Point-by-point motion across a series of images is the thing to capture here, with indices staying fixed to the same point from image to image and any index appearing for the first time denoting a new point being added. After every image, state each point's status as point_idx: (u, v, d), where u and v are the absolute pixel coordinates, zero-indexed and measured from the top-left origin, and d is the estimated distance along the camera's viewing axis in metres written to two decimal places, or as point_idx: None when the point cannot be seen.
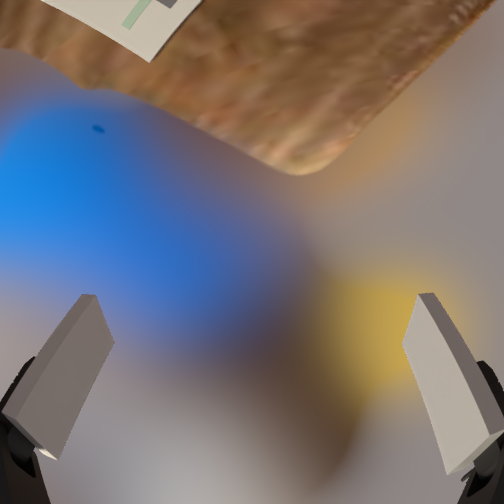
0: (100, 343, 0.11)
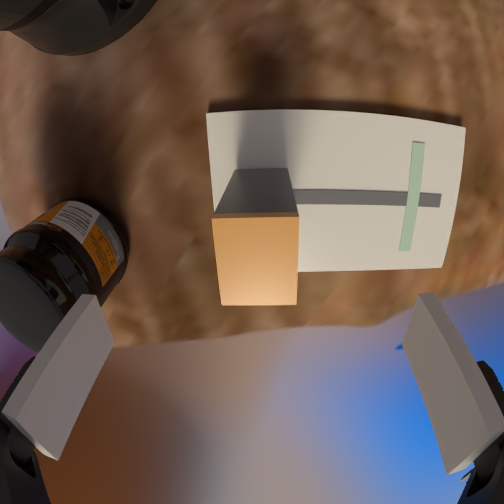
0: (100, 343, 0.11)
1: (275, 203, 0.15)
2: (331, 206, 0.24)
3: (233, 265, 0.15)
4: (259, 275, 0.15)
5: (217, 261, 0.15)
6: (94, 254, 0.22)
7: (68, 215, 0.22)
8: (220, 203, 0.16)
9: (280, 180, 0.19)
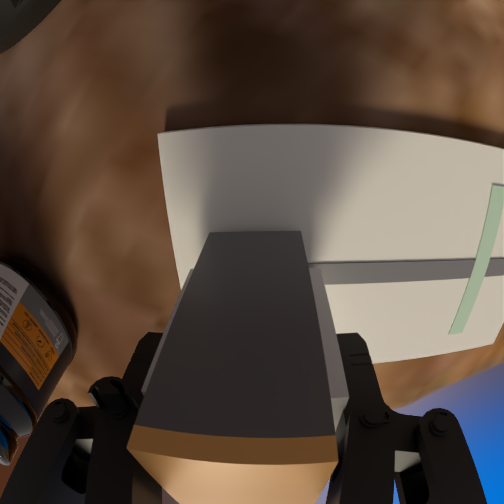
0: None
1: (280, 389, 0.06)
2: (367, 285, 0.15)
3: (192, 491, 0.06)
4: (243, 501, 0.06)
5: (161, 484, 0.06)
6: (19, 351, 0.12)
7: None
8: (156, 374, 0.06)
9: (290, 276, 0.10)
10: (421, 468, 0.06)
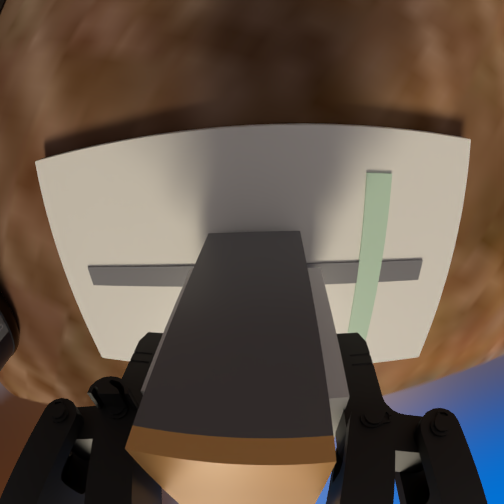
0: None
1: (278, 390, 0.06)
2: None
3: (192, 492, 0.06)
4: (243, 501, 0.06)
5: (160, 484, 0.06)
6: None
7: None
8: (154, 375, 0.06)
9: (289, 275, 0.10)
10: (421, 468, 0.06)
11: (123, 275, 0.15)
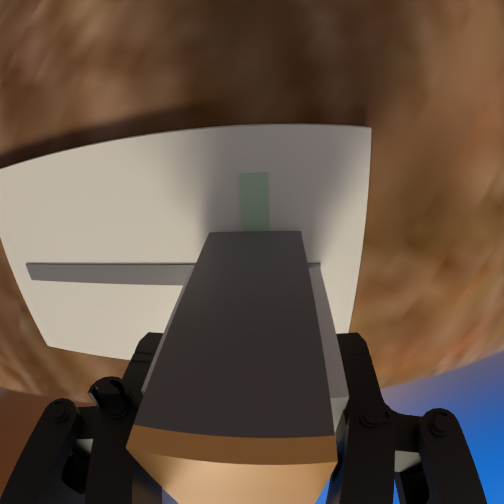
0: None
1: (279, 390, 0.06)
2: (124, 286, 0.16)
3: (191, 491, 0.06)
4: (242, 501, 0.06)
5: (160, 484, 0.06)
6: None
7: None
8: (155, 374, 0.06)
9: (290, 275, 0.10)
10: (421, 468, 0.06)
11: (50, 272, 0.16)
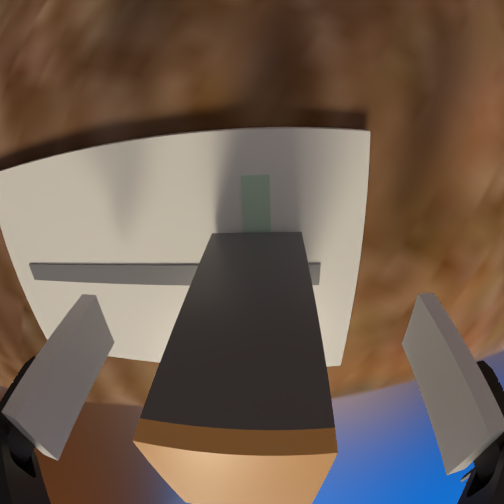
0: (100, 343, 0.11)
1: (281, 384, 0.06)
2: (127, 286, 0.16)
3: (195, 485, 0.06)
4: (245, 495, 0.06)
5: (164, 478, 0.06)
6: None
7: None
8: (161, 369, 0.07)
9: (291, 275, 0.10)
10: None
11: (53, 272, 0.16)
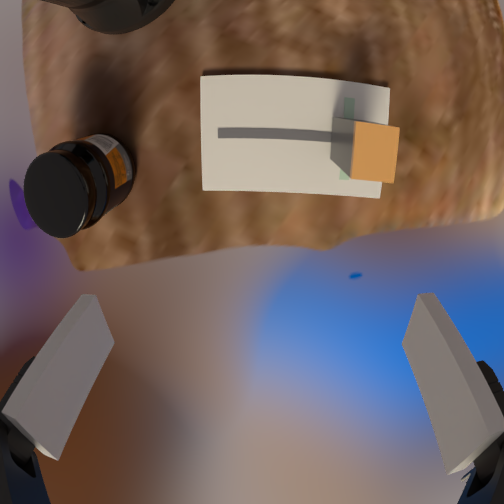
0: (100, 343, 0.11)
1: (381, 124, 0.24)
2: (284, 141, 0.33)
3: (363, 151, 0.23)
4: (376, 159, 0.23)
5: (354, 147, 0.23)
6: (113, 164, 0.30)
7: (97, 139, 0.30)
8: (350, 120, 0.24)
9: None
10: None
11: (237, 132, 0.33)
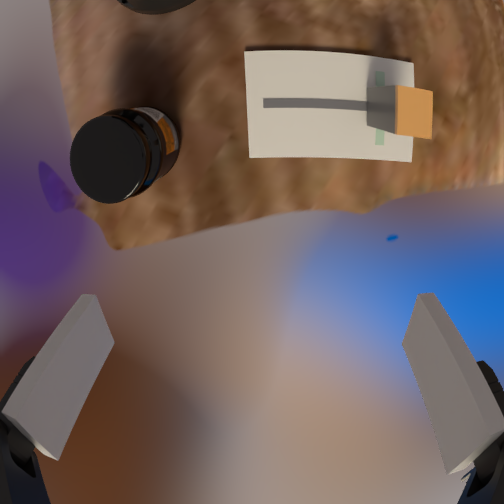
0: (100, 343, 0.11)
1: None
2: (325, 110, 0.34)
3: (405, 110, 0.24)
4: (416, 118, 0.24)
5: (398, 107, 0.24)
6: (163, 131, 0.32)
7: (144, 109, 0.32)
8: None
9: None
10: None
11: (282, 102, 0.34)
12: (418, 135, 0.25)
